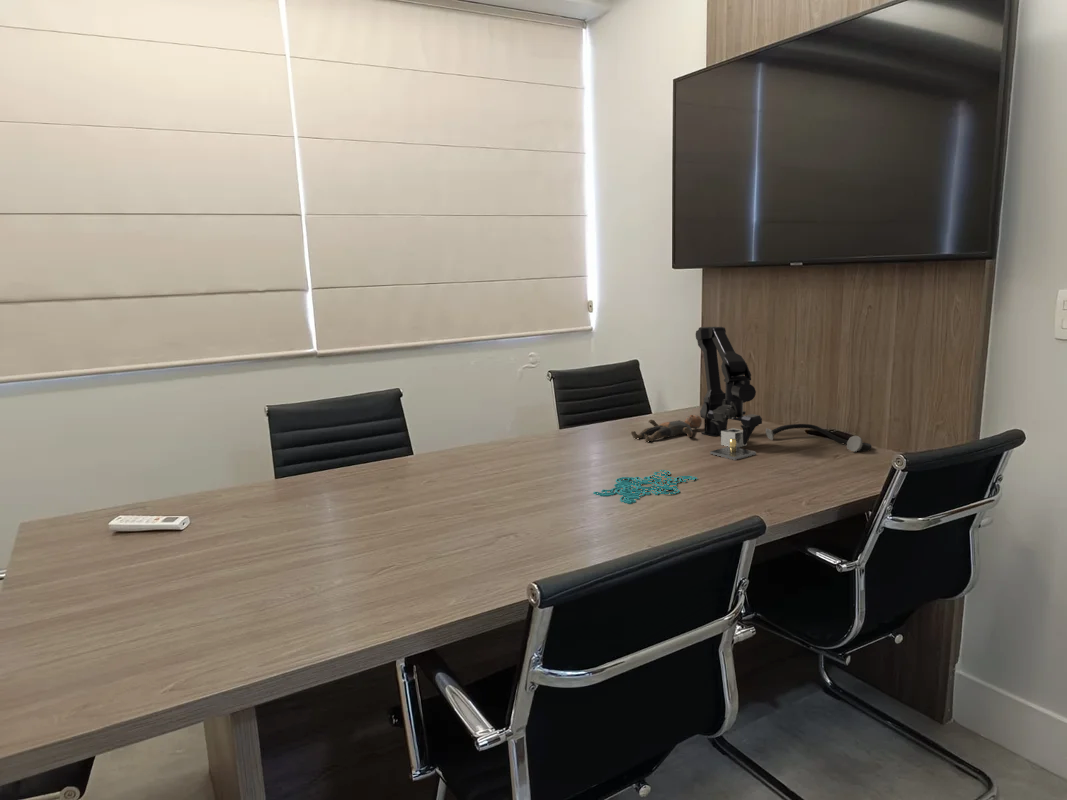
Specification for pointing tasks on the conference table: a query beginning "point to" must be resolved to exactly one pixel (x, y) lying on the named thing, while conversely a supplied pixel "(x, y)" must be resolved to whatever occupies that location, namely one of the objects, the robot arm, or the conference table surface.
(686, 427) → the figurine
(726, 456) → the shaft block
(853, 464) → the conference table surface
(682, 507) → the conference table surface
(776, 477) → the conference table surface
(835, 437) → the hose
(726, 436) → the grey hollow square block
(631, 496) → the decorative art
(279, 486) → the conference table surface
